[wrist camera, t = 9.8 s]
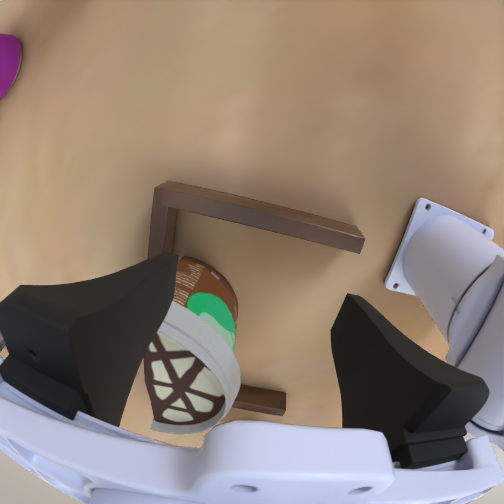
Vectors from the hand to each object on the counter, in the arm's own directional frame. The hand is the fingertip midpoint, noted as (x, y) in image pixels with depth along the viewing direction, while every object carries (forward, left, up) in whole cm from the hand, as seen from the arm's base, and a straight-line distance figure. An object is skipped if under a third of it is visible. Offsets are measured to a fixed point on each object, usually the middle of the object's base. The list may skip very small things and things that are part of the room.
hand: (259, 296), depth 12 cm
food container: (+2, +9, -11) cm, 14 cm away
